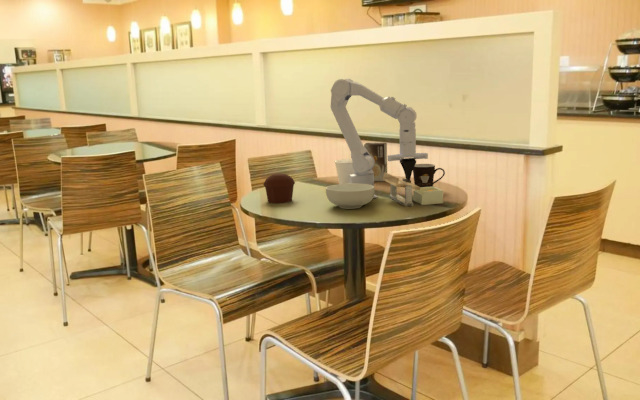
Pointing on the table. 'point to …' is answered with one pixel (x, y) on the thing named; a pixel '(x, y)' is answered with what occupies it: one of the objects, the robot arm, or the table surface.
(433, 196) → the bin
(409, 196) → the lever stand
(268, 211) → the table surface
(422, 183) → the coffee mug
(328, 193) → the cereal bowl
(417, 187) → the tan flat piece
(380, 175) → the coffee box
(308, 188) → the table surface
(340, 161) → the cup
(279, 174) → the muffin
